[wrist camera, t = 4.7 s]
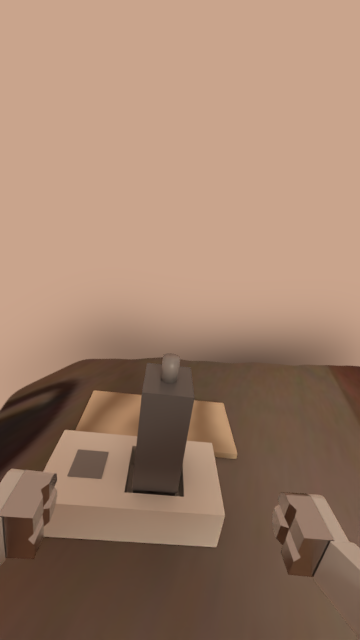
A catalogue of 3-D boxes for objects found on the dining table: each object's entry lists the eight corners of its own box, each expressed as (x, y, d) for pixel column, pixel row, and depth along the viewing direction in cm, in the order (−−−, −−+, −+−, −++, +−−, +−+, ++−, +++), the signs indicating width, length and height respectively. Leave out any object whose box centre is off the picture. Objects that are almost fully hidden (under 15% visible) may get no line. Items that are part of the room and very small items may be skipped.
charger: (173, 470, 29) (193, 347, 25) (173, 512, 25) (198, 375, 20) (135, 467, 29) (149, 342, 24) (129, 510, 25) (144, 369, 20)
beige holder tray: (206, 470, 32) (212, 442, 30) (216, 547, 24) (225, 515, 23) (64, 458, 31) (64, 429, 29) (29, 535, 23) (27, 501, 22)
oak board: (222, 407, 43) (223, 403, 43) (236, 459, 34) (237, 453, 34) (93, 394, 42) (93, 390, 42) (71, 444, 33) (71, 439, 32)
